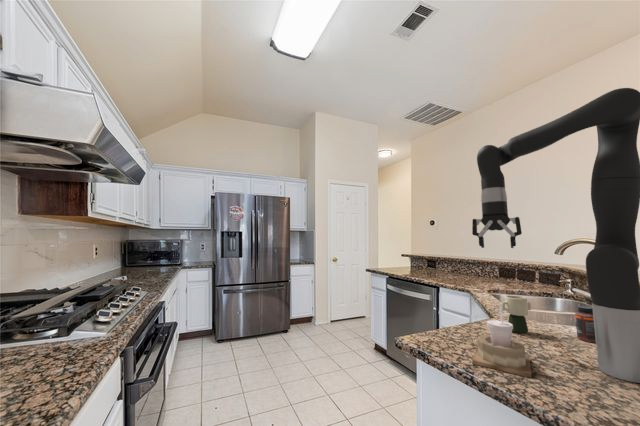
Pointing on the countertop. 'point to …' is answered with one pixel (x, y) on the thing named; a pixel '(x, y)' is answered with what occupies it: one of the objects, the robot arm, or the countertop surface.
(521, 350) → the bottle holder
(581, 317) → the supplement bottle
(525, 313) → the character mug
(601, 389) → the countertop surface
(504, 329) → the smoothie
